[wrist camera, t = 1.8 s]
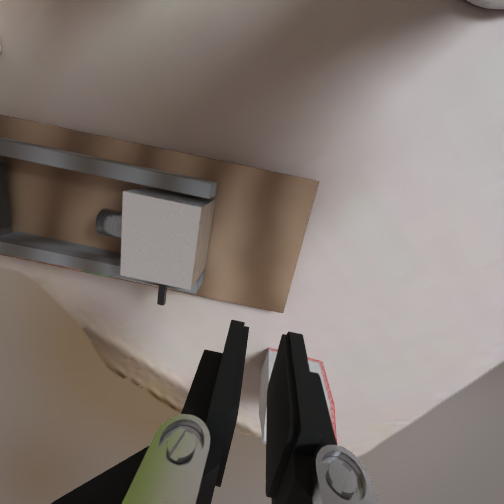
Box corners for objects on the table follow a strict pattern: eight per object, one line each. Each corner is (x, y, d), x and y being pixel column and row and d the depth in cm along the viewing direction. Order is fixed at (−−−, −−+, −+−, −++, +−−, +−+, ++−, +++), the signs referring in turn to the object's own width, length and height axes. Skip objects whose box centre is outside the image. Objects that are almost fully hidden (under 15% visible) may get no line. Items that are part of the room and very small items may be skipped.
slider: (215, 199, 23) (201, 207, 19) (201, 294, 27) (186, 321, 22) (121, 180, 23) (83, 182, 19) (118, 277, 27) (85, 300, 22)
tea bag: (312, 384, 32) (330, 475, 22) (260, 370, 32) (257, 456, 22) (322, 361, 31) (346, 447, 21) (268, 347, 30) (268, 427, 21)
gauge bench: (316, 180, 24) (335, 185, 17) (282, 306, 28) (286, 351, 21) (-21, 110, 24) (-143, 85, 17) (-2, 246, 28) (-92, 272, 21)
